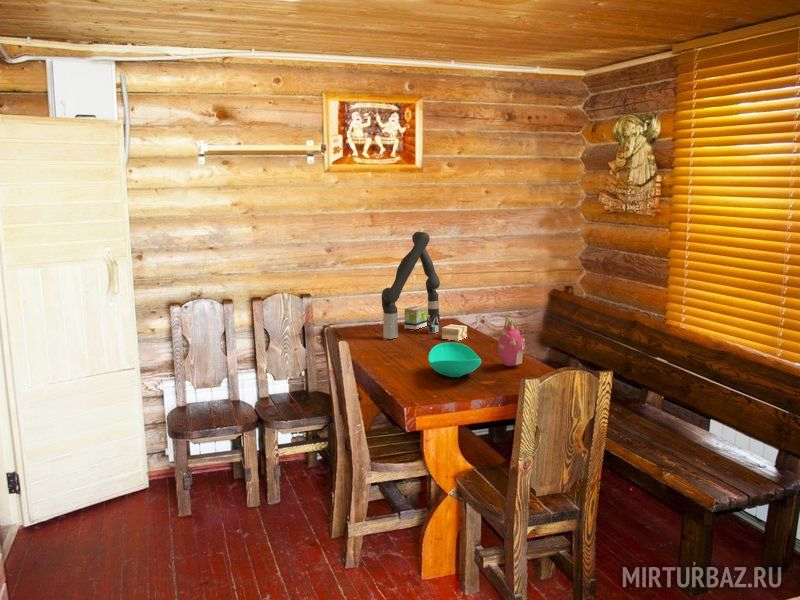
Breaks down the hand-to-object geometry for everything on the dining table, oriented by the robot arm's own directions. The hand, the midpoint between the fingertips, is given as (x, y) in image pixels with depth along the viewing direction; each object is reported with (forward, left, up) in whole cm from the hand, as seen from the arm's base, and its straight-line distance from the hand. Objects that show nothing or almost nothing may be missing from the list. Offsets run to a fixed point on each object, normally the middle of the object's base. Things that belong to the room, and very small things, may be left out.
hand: (433, 330), depth 471 cm
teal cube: (0, 0, -2) cm, 2 cm away
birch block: (-9, -20, -2) cm, 22 cm away
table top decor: (-86, -57, -2) cm, 103 cm away
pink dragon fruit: (-56, -77, -2) cm, 95 cm away
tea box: (+8, +18, -2) cm, 20 cm away
